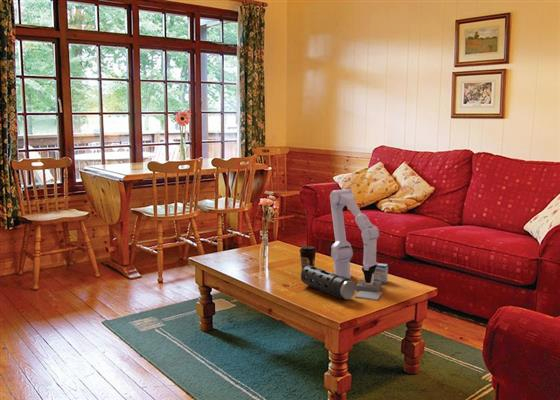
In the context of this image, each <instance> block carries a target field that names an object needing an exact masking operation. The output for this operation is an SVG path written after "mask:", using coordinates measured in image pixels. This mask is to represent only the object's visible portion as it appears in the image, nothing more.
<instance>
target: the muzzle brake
mask: <svg viewBox="0 0 560 400" xmlns="http://www.w3.org/2000/svg"><path fill="white" fill-rule="evenodd" d="M301 270H302V269H301ZM307 271H308V272H307ZM300 280H301V282H302V283H303V284H305V285H307V286H308V287H310V288H312V289H315V290H316V291H319V292H323V293H327V294H330V295H332V297H333V298H335V299H340V300H342V301H343V300H348V301H349V300H350V299H352V298H353V297H354V296H355V294H356V284H355V282H354V281H353V280H352V279H351V278H350V279H349V278H346V277H343V276H339V275H336V274H334V273H333V272H330V271H327V270H324V269H322V268H319V267H316V266H315V265H314V266H311V265H308V266H306V267H305V268H304V269H303V270H302V271H301V272H300Z"/></svg>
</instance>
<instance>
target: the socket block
mask: <svg viewBox="0 0 560 400" xmlns="http://www.w3.org/2000/svg"><path fill="white" fill-rule="evenodd" d="M382 284H383V283H382V282H379V281H374V285H373V286H370V285H364V279H360V280H359V281H358V282H357V284H355V286H356V290H355V292H359V291H360V290H363V291H371V292H380V290H381V288H382V287H383V285H382Z"/></svg>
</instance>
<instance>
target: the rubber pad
mask: <svg viewBox="0 0 560 400" xmlns="http://www.w3.org/2000/svg"><path fill="white" fill-rule="evenodd" d="M382 295H383V292H382V291H379V292H371V291H363V290H360V291H357V293H356V295H354V296H355V297H354V298H357V299H362V300H363V299H365V300H370V301H379V299H380V297H382Z"/></svg>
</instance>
